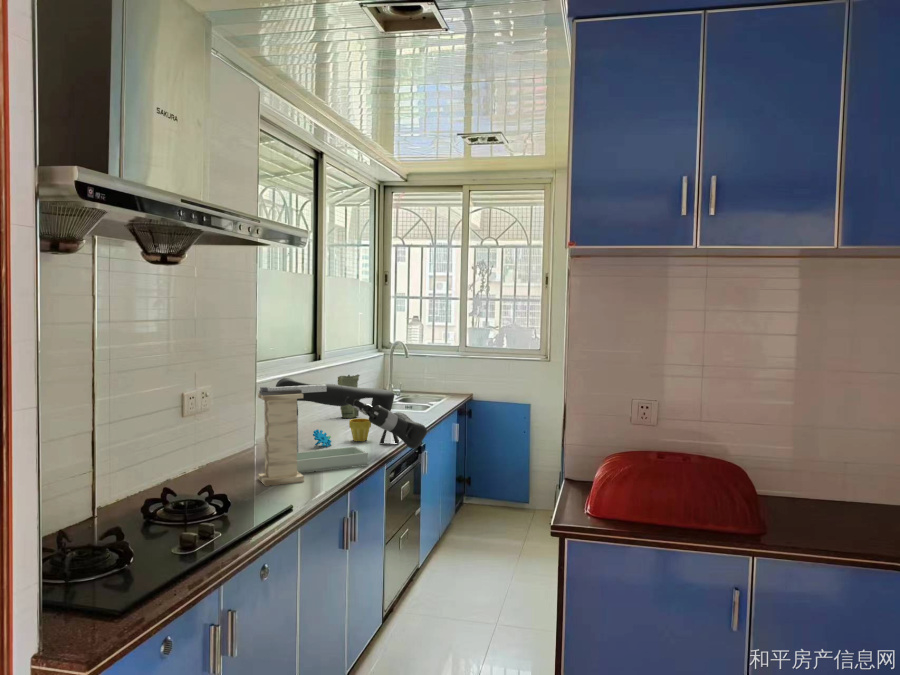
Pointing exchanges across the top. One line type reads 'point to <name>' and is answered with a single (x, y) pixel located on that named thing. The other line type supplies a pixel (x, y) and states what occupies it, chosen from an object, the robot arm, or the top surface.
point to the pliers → (385, 435)
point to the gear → (322, 438)
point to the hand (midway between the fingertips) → (350, 400)
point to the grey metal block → (296, 388)
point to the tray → (330, 459)
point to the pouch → (348, 409)
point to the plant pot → (360, 428)
